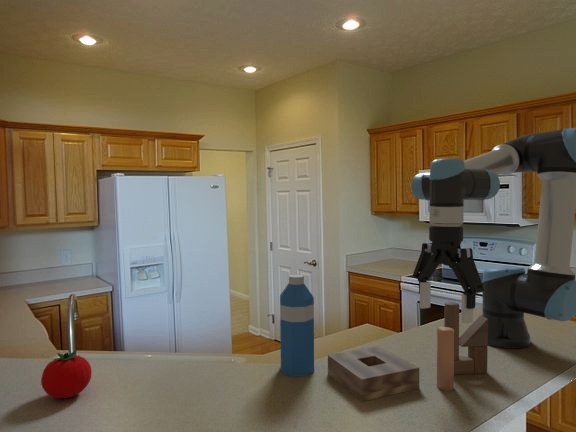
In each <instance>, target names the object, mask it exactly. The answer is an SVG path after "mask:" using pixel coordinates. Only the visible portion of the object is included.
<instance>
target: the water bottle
mask: <svg viewBox="0 0 576 432" xmlns="http://www.w3.org/2000/svg"><path fill="white" fill-rule="evenodd" d="M314 298H315V297H314V296H313V294H312V293H311V291H310V290H309V288H308V287H307V285H306V284H305V277H304V275H303V274H290V275H288V284H287V285H286V286H285V288H284V289H283V291H281V293H280V295H279V318H280V320H279V321H280V322H279V326H280V327H279V329H280V372H281V373H282V374H283V375H287V376H290V377H306V376H308V375H310V374H312V373H314V372H315V316H314V315H315V310H314V309H315V308H314V306H315V305H314V304H315V300H314Z"/></svg>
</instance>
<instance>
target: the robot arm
mask: <svg viewBox="0 0 576 432" xmlns="http://www.w3.org/2000/svg"><path fill="white" fill-rule="evenodd" d="M429 167H430V170H429V172H427V171H426V172H421V173H417V174H415V176H413V178H412V180H411V185H410V188H411V193H412V195H413V196H414V197H415V198H416V199H418V200H424V201H429V219H428V220H429V224H431V225H430V226H429V227H428V241H430V242H423V243H422V244H421V250H420V251H421V252H420V254H419V257H418V260H417V262H416V265H415V268H414V269H413V270H414V271H413V273H412V277H413V278H414V279H417V281H418V293H419V309H423V310H425V309H430V308H431V299H432V297H431V290H432V289H431V287H432V286H431V284H432V283H431V277H432V275H433V274H434V272H435V271H436V269H437V268H438V267H439V265H443V266H447V267H449V268H450V269H451V270H452V272H453V273H454V275H455V277H456V279H457V280H458V283H459V285H460V286H461V287H462V290H463V291H464V292H463V293H461V313H460V315H461V316H460V317H461V319H460V322H461V323H462V324H469V323H470V324H472V323H474V309H475V308H476V297H477V294H479V293H482V312H481V313H482V314H481V316H483V317H485V318H487V319H488V346H489V345H490V346H494V347H497V348H506V349H524V348H527V347H529V346H530V345H531V336H530V333H529V330H528V326H527V324H526V320H525V314H527V315H528V314H529V315H532V316H537V317H541V318H544V319H547V320H550V321H551V320H553V321H558V322H569V321H570V320H571V319H573V318H574V317H575V316H576V273H575V272H574V270H572V269H571V267H570V266H571V255H572V247H573V239H574V238H573V236H574V235H573V234H574V225H575V215H576V127H572V128H571V127H570V128H569V127H566V128H563V129H556V130H549V131H542V132H535V133H529V134H525V135H522V136H519V137H516V138H513V139H511V140H508V141H505V142H503V143H501V144H498V145H496V146H494V147H493V148H492V149H491V151H489V152H485V153H483V154H480V155H477V156H474V157H472V158H471V157H470V158H467V159H466V160H463V158H462V159H461V158H458V157H457V158H453V157H451V158H449V157H448V158H447V157H446V158H437V159H434V160H433V161H431V163H430V166H429ZM531 172H532V173H534V172H536V177H537V178H539V179H540V180H541V182H542V183H541V192H540V201H539V202H540V203H539V212H538V222H537V232H536V241H535V251H534V261H533V264H531V265H530V266H528V267H527V271H526V270H525V269H526V268H525V267H522V266H499V267H497V266H495V267H490V268H489V267H488V268H486V269H484V271H483V273H482V280H481V276H480V274H479V271H478V268H477V265H476V263H475V260H474V251H473V248H472V247H469V248H468V247H466V248H462V246H461V244H462V243H463V241H464V227H463V226H462V225H463V224H464V221H465V219H464V210H465V209H464V203H465V201H471V200H472V201H484V200H485V201H486V200H490V199H492V198H495V196H497V194H498V192H499V191H500V188H501V183H500V182H501V181H500V178H499V176H500V175H502V176H509V175H511V174H515V173H531Z"/></svg>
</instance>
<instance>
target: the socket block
mask: <svg viewBox="0 0 576 432" xmlns="http://www.w3.org/2000/svg"><path fill="white" fill-rule="evenodd" d="M327 374H328V375H329V376H330V377H331V378H332V379H333V380H335V381H336V382H337V383H338V384H339V385H341V386H342V387H343V388H345V389H346V390H347V392H349V393H350V394H352V395H353V396H354V397H356V398H357V399H358V400H359V401H361V402H367V401H370V400H374V399H378V398H382V397H387V396H391V395H396V394H400V393H404V392H405V393H406V392H410V391H413V390H418V389H420V367H419V366H417V365H415V364H414V363H411V362H410V361H408V360H407V359H405V358H402V357H401V356H399V355H398V354H395V353H394V352H392V351H390V350H388V349H387V348H385V347H382V346H381V345H377V346H372V347H371V346H370V347H366V348H360V349H354V350H348V351H342V352H337V353H330V354H327Z"/></svg>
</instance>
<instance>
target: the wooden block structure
mask: <svg viewBox="0 0 576 432" xmlns="http://www.w3.org/2000/svg"><path fill="white" fill-rule="evenodd" d="M443 310H444V311H443V312H444V315H443V317H444V318H443V319H444V322H443V323H444V326H443V327H449V328H452V329H454V375H467V374H468V375H469V374H471V375H473V374H488V346H489V344H488V319H487V318H485V317H483V316H482V314H481V315H479V316H478V317H477V318H476V319H475V320H474V321H473V322H472V323H471V325H470V326H469V327H468V328H467V329H466V330H465V331H464V332H463V333H462V334H461V335H460V304H459V303H458V302H453V301H448V302H445V303H444V309H443ZM460 347H461V348H467V356H465V355H460Z"/></svg>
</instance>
